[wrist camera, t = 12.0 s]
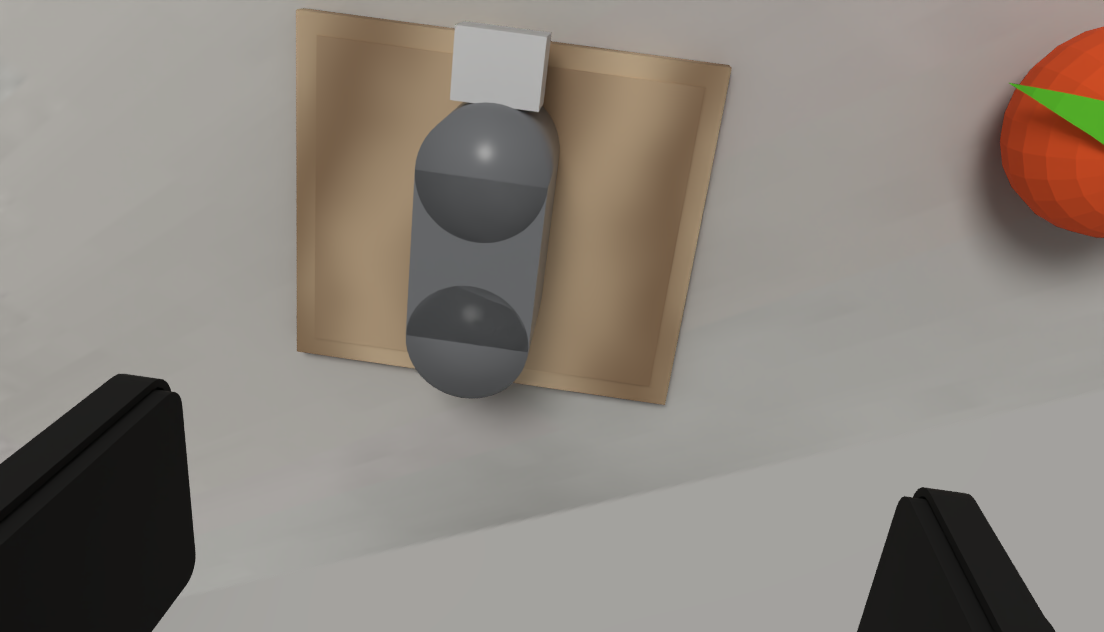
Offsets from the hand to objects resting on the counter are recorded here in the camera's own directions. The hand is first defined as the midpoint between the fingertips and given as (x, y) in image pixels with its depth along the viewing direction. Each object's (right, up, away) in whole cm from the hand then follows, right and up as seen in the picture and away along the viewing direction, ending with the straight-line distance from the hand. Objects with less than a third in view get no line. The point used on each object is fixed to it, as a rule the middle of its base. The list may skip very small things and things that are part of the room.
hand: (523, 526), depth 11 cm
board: (-2, +7, +23) cm, 24 cm away
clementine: (+19, +10, +20) cm, 29 cm away
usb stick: (-2, +7, +22) cm, 23 cm away
